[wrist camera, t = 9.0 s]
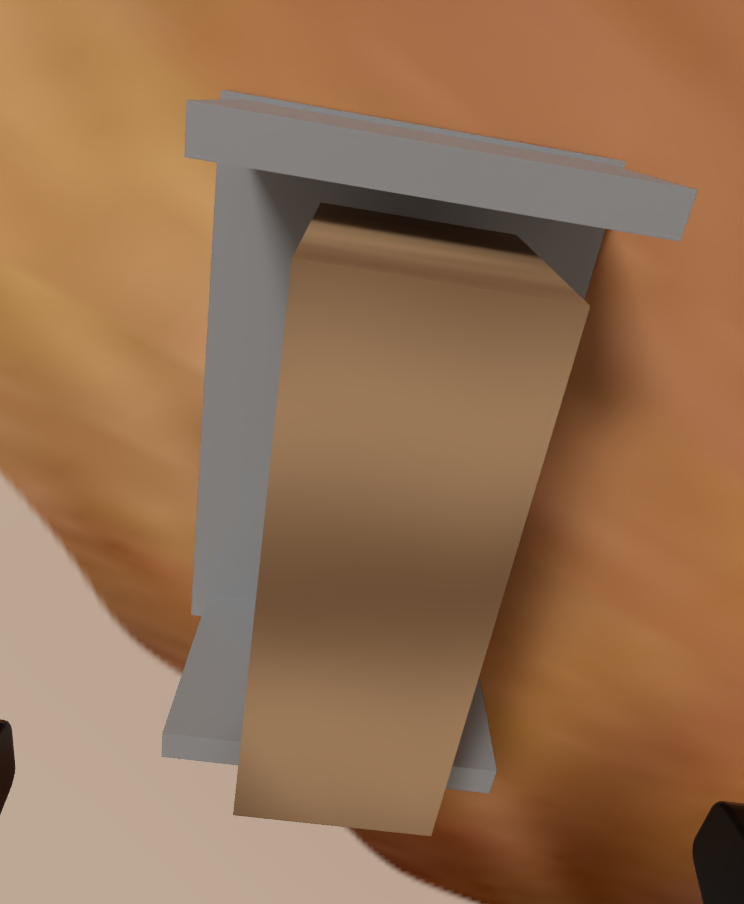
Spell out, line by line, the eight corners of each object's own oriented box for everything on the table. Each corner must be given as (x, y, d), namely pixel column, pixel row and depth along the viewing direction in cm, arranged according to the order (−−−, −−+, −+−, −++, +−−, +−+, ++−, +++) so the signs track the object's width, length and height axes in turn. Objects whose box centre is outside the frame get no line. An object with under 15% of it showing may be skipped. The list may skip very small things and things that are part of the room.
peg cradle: (228, 90, 16) (153, 86, 10) (614, 158, 16) (730, 188, 11) (196, 598, 22) (140, 756, 17) (476, 633, 23) (507, 798, 17)
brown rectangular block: (416, 647, 19) (431, 836, 14) (269, 628, 19) (233, 814, 14) (516, 234, 14) (590, 305, 9) (320, 202, 14) (291, 258, 9)
